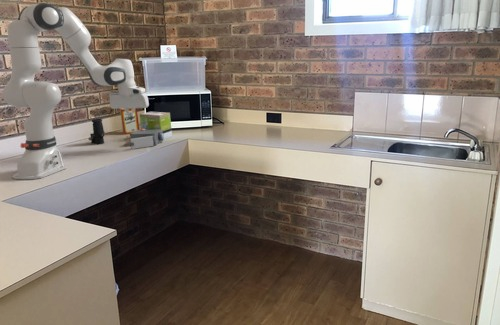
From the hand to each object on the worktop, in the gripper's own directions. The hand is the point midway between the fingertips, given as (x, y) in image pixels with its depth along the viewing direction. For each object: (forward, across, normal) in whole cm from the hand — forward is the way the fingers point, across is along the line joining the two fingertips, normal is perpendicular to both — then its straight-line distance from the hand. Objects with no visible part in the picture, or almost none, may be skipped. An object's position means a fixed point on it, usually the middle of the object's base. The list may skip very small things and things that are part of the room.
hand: (131, 116), depth 214 cm
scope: (+17, -26, +10) cm, 32 cm away
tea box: (+17, +4, +22) cm, 28 cm away
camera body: (+17, +4, +9) cm, 19 cm away
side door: (+16, +5, -2) cm, 17 cm away
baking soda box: (+17, -18, +38) cm, 46 cm away
